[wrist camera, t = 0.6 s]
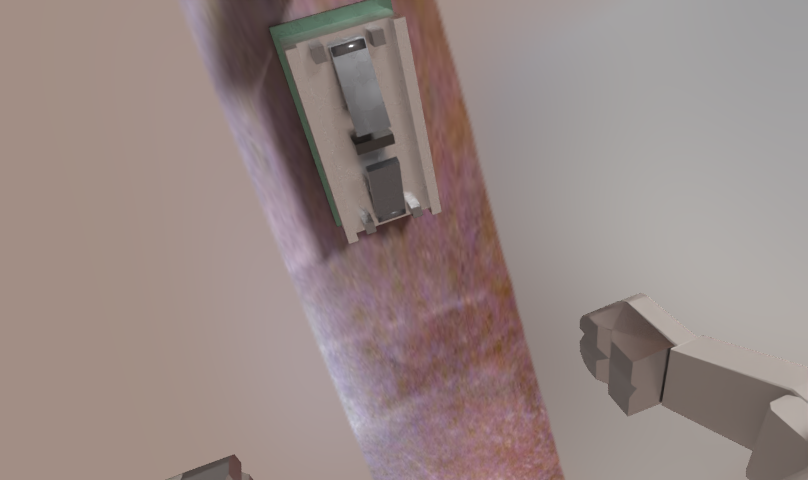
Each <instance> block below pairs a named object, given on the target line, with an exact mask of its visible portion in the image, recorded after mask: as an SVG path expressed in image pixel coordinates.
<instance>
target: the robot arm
mask: <svg viewBox="0 0 808 480" xmlns="http://www.w3.org/2000/svg"><path fill="white" fill-rule="evenodd" d="M580 329H581V330H582V331H583V332H584V333H585V334H584V336H583V337H582V339H581V340H580V352H581V355H582V358H583V361H584V363H585V365H586V366H587V368H588V370H589V371H590V372H591V373H592V375H593V376H594V377H595V378H596V379H597V380H600V381H602V382H605V383H607V384H608V393H609V395H610V396H611V397H612V399H613V400H614V401H615V402H616V403H617V405H618V406H619V407H620V408H621V409H622V410H623V412H624V413H625V414H626V415H627V416H630V415H633V414H635V413H638V412H640V411H643V410H645V409H648V408H650V407H652V406H655V405H658V404H660V403H662V406H665V407H666V408H668V409H670V410H672V411H674V412H676V413H678V414H680V415H682V416H684V417H686V418H688V419H690V420H692V421H694V422H696V423H698V424H700V425H702V426H704V427H706V428H708V429H710V430H712V431H714V432H716V433H718V434H720V435H722V436H724V437H726V438H728V439H730V440H732V441H734V442H736V443H738V444H740V445H742V446H745V447H746V448H748V449H750V450H752V451H753V452H752V455H751V457H750V460H749V463H748V466H747V468H746V477H747V478H748V479H749V480H808V367H806V366H803V365H800V364H796V363H793V362H790V361H787V360H783V359H780V358H777V357H773V356H770V355H767V354H764V353H760V352H757V351H754V350H750V349H747V348H744V347H740V346H737V345H734V344H730V343H727V342H724V341H721V340H717V339H714V338H711V337H707V336H704V335H702V336H700V337H696V336H695V335H694V334H693V333H691V332H690V331H689V330H688V329H687V328H685V327H684V326H683V325H682V324H681V323H679V322H678V321H677V320H676V319H675V318H673V317H672V316H671V315H670V314H668V313H667V312H666V311H665V310H664V309H662V308H661V307H660V306H659V305H657V304H656V303H655V302H654V301H653V300H651V299H650V298H649V297H648V296H647V295H645V294H642V293H639V294H636V295H634V296H631V297H629V298H626V299H624V300H621V301H617V302H615V303H613V304H611V305H608V306H605V307H603V308H600V309H598V310H596V311H593V312H591V313H588V314H586V315H583V316H582V318H581V319H580ZM167 480H253V479H252V478H251V476H250V475H249V474H246V473H242V472H241V462H240V461H239V460H238V458H237V457H236V456H235V455H232V456H228V457H226V458H223V459H220V460H217V461H215V462H212V463H209V464H206V465H204V466H201V467H198V468H196V469H193V470H190V471H187V472H185V473H182V474H179V475H177V476H174V477H172V478H169V479H167Z"/></svg>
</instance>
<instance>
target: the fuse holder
mask: <svg viewBox="0 0 808 480" xmlns="http://www.w3.org/2000/svg"><path fill="white" fill-rule="evenodd" d="M269 30H270V33H271V36H272V39H273V41H274V44H275V47H276V50H277V53H278V56H279V59H280V62H281V65H282V68H283V71H284V74H285V77H286V79H287V82H288V85H289V88H290V91H291V94H292V97H293V100H294V103H295V106H296V109H297V112H298V114H299V117H300V120H301V123H302V126H303V129H304V132H305V135H306V138H307V141H308V144H309V147H310V149H311V152H312V155H313V158H314V161H315V164H316V167H317V170H318V173H319V176H320V179H321V182H322V184H323V187H324V190H325V193H326V196H327V199H328V202H329V205H330V208H331V211H332V214H333V217H334V219H335V222H336V225H337V227H338V226H341V225H342V227H343V229H344V232H345V234H346V237H347V239H348V242H349V244H351V243H353V242H356V241H359V240H358V237H357V234H356V233H358V232H360V231H363V230H365V231H366V233H367V235H368V234H371V233H374V232H377V230H376V227H375V226H378V225H381V224H384V223H386V222H389V221H392V220H395V219H398V218H401V217H404V216H407V215H409V214H411V215H412V216H413V218H417V217H420V216H422V215H423V213H422V210H424V209H427V208H428V209H429V211H430V212H431V214H432V215H434V214H436V213H439V212H441V206H440V201H439V196H438V190H437V185H436V180H435V174H434V169H433V164H432V158H431V153H430V148H429V142H428V137H427V131H426V126H425V121H424V115H423V110H422V105H421V99H420V94H419V89H418V83H417V78H416V73H415V67H414V62H413V57H412V51H411V46H410V40H409V35H408V30H407V24H406V19H405V16H403V15H401V14H399V13H396V12H394V11H393V9H392V4H391V0H364V1H360V2H357V3H353V4H350V5H346V6H343V7H339V8H335V9H332V10H328V11H325V12H321V13H318V14H314V15H310V16H307V17H303V18H300V19H296V20H292V21H289V22H285V23H282V24H278V25H275V26H271V27H269ZM363 36H364V37H365V41H366V44H367V47H368V51H369V54H370V57H371V61H372V64H373V67H374V71H375V74H376V77H377V81H378V84H379V87H380V90H381V94H382V97H383V100H384V104H385V107H386V110H387V114H388V117H389V120H390V124H391V127H388V128H385V129H382V130H379V131H376V132H372V133H369V134H366V135H363V136H360V137H357V135H356V132H355V129H354V126H353V123H352V120H351V117H350V114H349V110H348V107H347V104H346V101H345V98H344V95H343V92H342V89H341V85H340V82H339V79H338V76H337V73H336V70H335V67H334V64H333V61H332V57H331V54H330V51H329V46H332V45H336V44H339V43H343V42H346V41H350V40H353V39H357V38H360V37H363ZM396 156H397V158H398V160H399V162H400V169H401V177H402V185H403V192H404V200H405V207H406V214H404V215H401V216H398V217H395V218H393V219H390V220H387V221H384V222H381V223H378V220H377V218H376V214H375V209H374V205H373V200H372V195H371V191H370V186H369V182H368V177H367V172H366V168H365V167H366V166H369V165H372V164H375V163H378V162H381V161H384V160H387V159H390V158H393V157H396Z"/></svg>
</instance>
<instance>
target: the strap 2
mask: <svg viewBox="0 0 808 480" xmlns="http://www.w3.org/2000/svg"><path fill="white" fill-rule="evenodd" d="M365 168H366V172H367V177H368V182H369V186H370V191H371V195H372V200H373V205H374V209H375V214H376V218H377V220H378V223H381V222H384V221H387V220H390V219H393V218H395V217H398V216H401V215H404V214H406V207H405V200H404V192H403V185H402V177H401V169H400V162H399V160H398V158H397V156H396V157H393V158H390V159H387V160H384V161H381V162H378V163H375V164H372V165H369V166H366V167H365Z"/></svg>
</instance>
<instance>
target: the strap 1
mask: <svg viewBox="0 0 808 480" xmlns="http://www.w3.org/2000/svg"><path fill="white" fill-rule="evenodd" d="M329 51H330V54H331V57H332V61H333V64H334V67H335V70H336V73H337V76H338V79H339V82H340V85H341V89H342V92H343V95H344V98H345V101H346V104H347V107H348V110H349V114H350V117H351V120H352V123H353V126H354V129H355V132H356V135H357V137H360V136H363V135H366V134H369V133H372V132H376V131H379V130H382V129H385V128H388V127H391V124H390V120H389V117H388V114H387V110H386V107H385V104H384V100H383V97H382V94H381V90H380V87H379V84H378V81H377V77H376V74H375V71H374V67H373V64H372V61H371V57H370V54H369V51H368V47H367V44H366V41H365V37H364V36H363V37H360V38H357V39H353V40H350V41H346V42H343V43H339V44H336V45H332V46H329Z"/></svg>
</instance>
